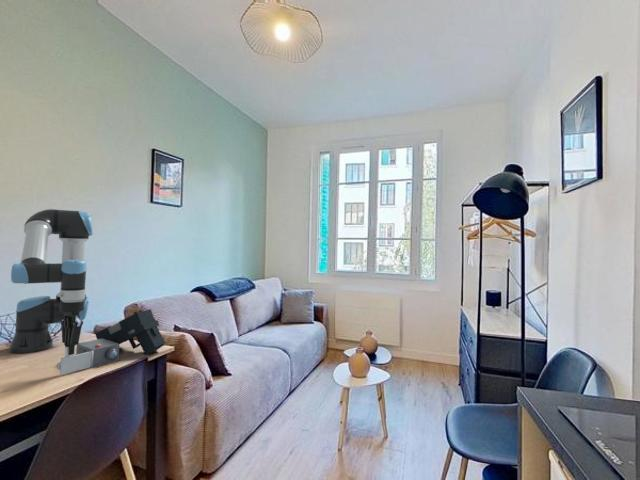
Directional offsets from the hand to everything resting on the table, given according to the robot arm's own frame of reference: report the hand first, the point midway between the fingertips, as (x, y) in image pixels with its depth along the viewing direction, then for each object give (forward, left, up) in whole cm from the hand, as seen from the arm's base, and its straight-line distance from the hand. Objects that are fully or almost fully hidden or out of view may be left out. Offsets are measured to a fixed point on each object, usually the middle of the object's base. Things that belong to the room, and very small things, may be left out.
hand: (69, 362), depth 126 cm
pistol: (-8, +28, -4) cm, 30 cm away
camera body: (-5, +13, -4) cm, 14 cm away
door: (+1, +2, -4) cm, 4 cm away
